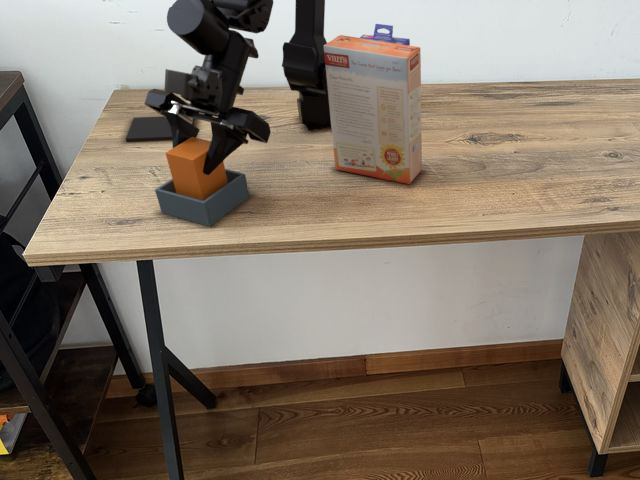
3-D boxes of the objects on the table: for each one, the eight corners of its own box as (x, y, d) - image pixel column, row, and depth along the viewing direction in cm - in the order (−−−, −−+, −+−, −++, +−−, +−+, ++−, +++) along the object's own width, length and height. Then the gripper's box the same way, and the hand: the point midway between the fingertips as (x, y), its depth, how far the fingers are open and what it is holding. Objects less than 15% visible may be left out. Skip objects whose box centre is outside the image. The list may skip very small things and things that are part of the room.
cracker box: (423, 170, 118) (422, 45, 104) (409, 186, 114) (407, 58, 100) (349, 155, 121) (340, 31, 107) (334, 170, 117) (321, 43, 103)
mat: (195, 118, 130) (194, 115, 130) (190, 138, 124) (190, 135, 123) (134, 120, 128) (133, 117, 128) (126, 141, 122) (125, 138, 121)
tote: (203, 184, 112) (198, 161, 109) (249, 196, 110) (245, 173, 107) (161, 212, 105) (154, 189, 102) (209, 226, 103) (204, 203, 100)
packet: (205, 189, 110) (192, 136, 104) (231, 196, 108) (219, 143, 102) (180, 206, 106) (165, 152, 99) (206, 214, 104) (193, 160, 98)
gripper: (134, 31, 97) (101, 136, 97) (244, 54, 92) (209, 164, 92) (184, 70, 108) (154, 164, 107) (285, 92, 103) (254, 190, 102)
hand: (191, 169), depth 102 cm, fingers closed on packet, 5 cm apart
